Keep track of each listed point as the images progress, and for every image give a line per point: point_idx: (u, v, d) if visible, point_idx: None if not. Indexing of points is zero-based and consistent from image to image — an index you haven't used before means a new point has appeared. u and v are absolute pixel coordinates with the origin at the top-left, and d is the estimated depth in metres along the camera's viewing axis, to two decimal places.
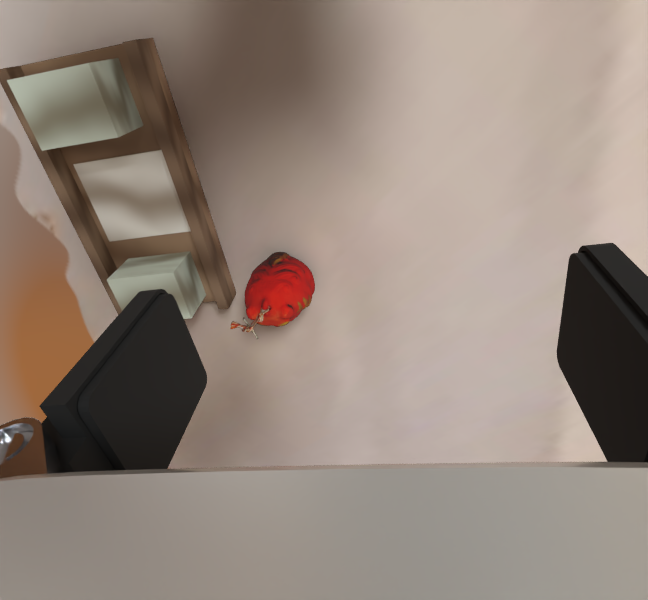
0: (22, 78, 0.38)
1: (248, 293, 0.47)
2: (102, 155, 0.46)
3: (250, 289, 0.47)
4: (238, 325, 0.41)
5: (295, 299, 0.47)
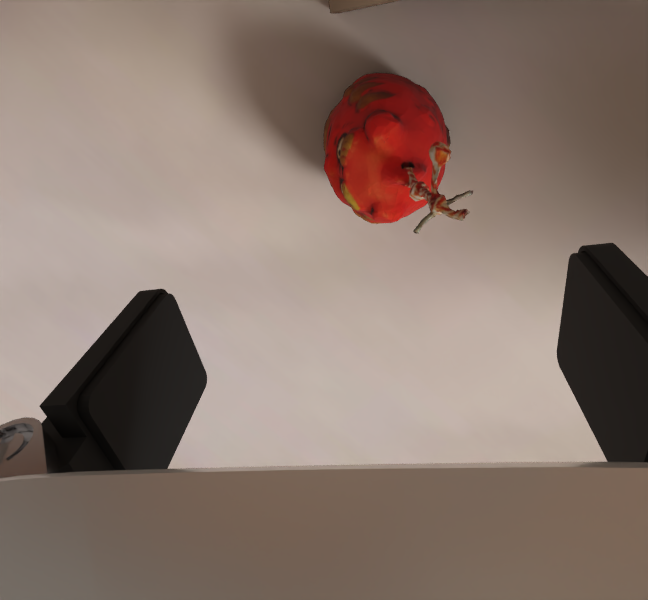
0: None
1: (419, 112, 0.20)
2: None
3: (429, 117, 0.20)
4: (440, 168, 0.15)
5: (401, 217, 0.23)
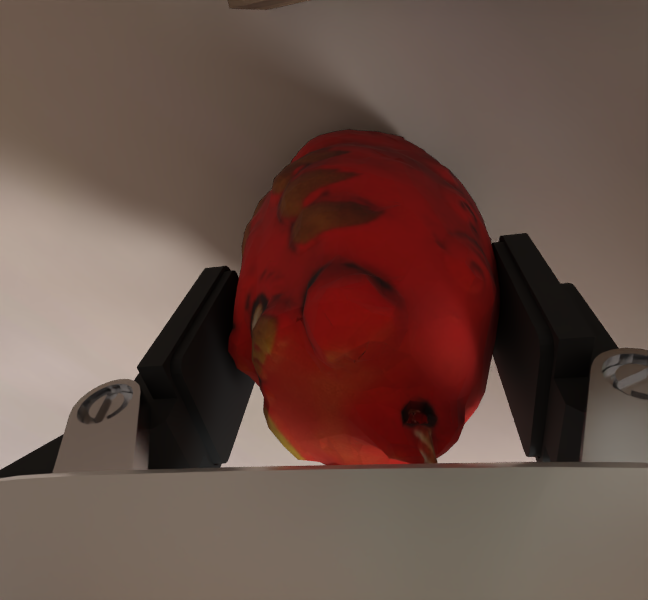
0: None
1: (446, 260, 0.08)
2: None
3: (471, 271, 0.08)
4: None
5: None
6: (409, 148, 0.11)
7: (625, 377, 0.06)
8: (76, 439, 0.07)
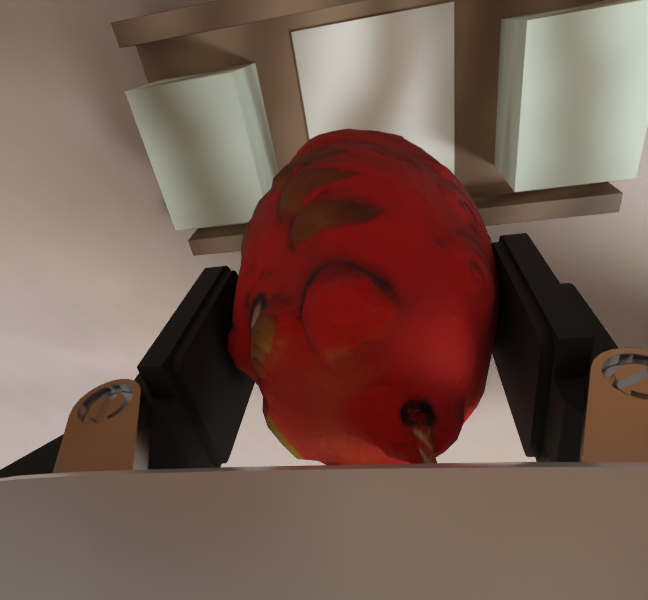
0: None
1: (446, 259, 0.08)
2: (460, 73, 0.26)
3: (471, 270, 0.08)
4: None
5: None
6: (408, 147, 0.11)
7: (625, 377, 0.06)
8: (76, 439, 0.07)
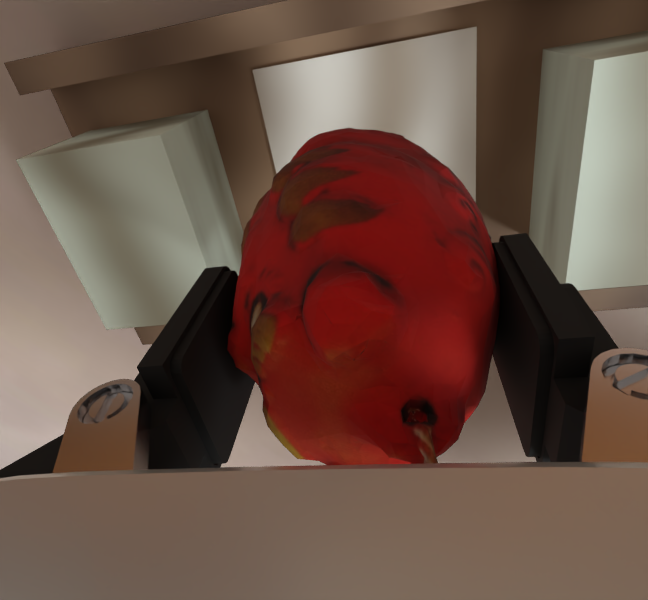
0: None
1: (446, 258, 0.08)
2: (484, 121, 0.19)
3: (471, 269, 0.08)
4: None
5: None
6: (409, 146, 0.11)
7: (625, 377, 0.06)
8: (76, 439, 0.07)
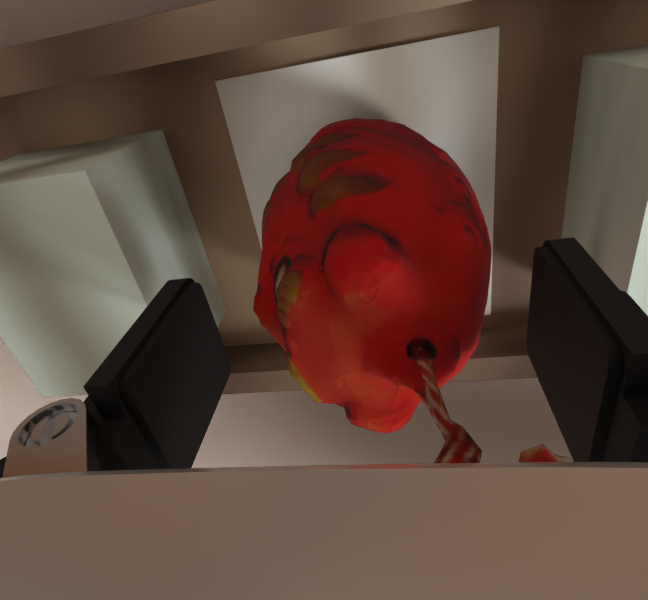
0: None
1: (443, 222, 0.09)
2: (505, 145, 0.15)
3: (465, 232, 0.09)
4: None
5: None
6: (410, 133, 0.12)
7: None
8: (13, 463, 0.07)
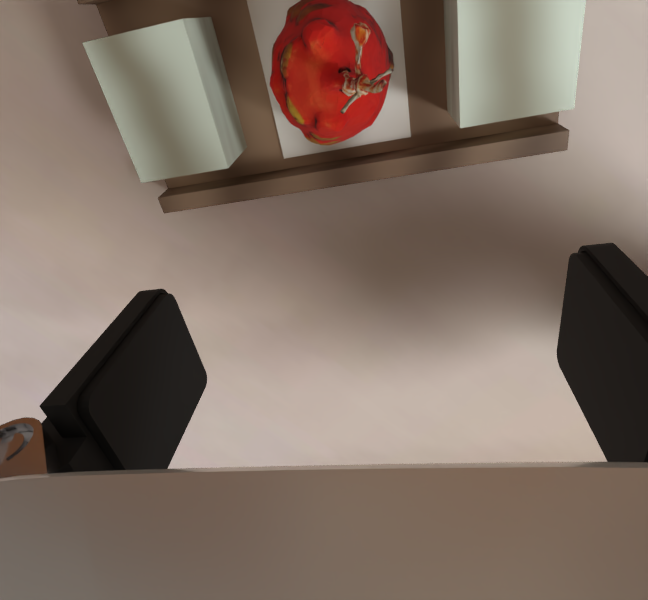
0: None
1: (355, 20, 0.21)
2: (407, 18, 0.27)
3: None
4: (362, 48, 0.16)
5: (346, 132, 0.24)
6: None
7: None
8: None
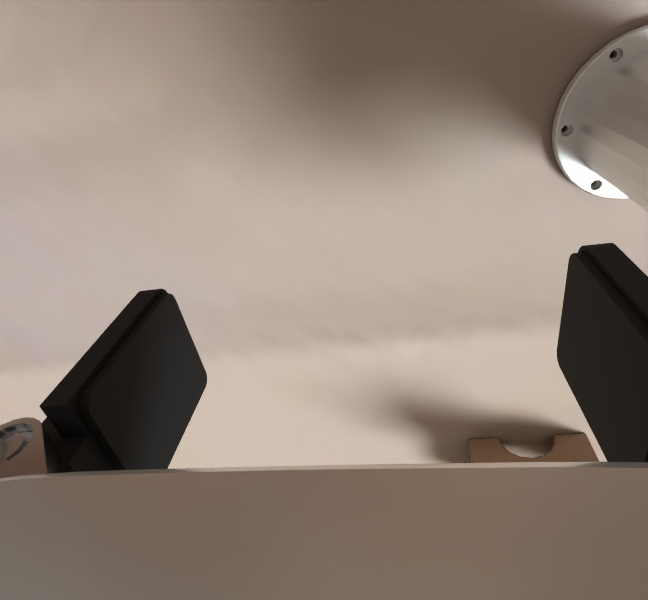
0: None
1: None
2: None
3: None
4: None
5: None
6: None
7: None
8: None
